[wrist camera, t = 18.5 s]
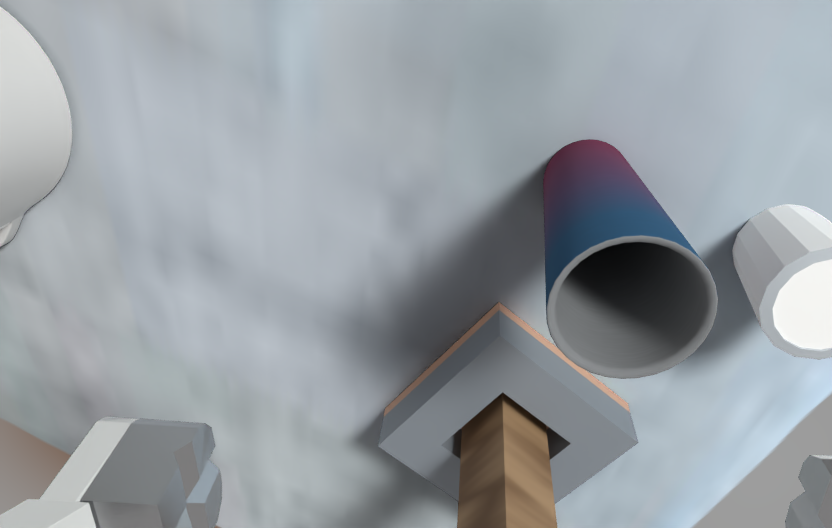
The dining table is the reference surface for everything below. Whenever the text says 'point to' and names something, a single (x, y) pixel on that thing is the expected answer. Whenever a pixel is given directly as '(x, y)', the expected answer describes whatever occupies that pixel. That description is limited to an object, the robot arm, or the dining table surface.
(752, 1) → the dining table surface
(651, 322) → the cup
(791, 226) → the shot glass
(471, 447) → the block
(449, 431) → the end cap
